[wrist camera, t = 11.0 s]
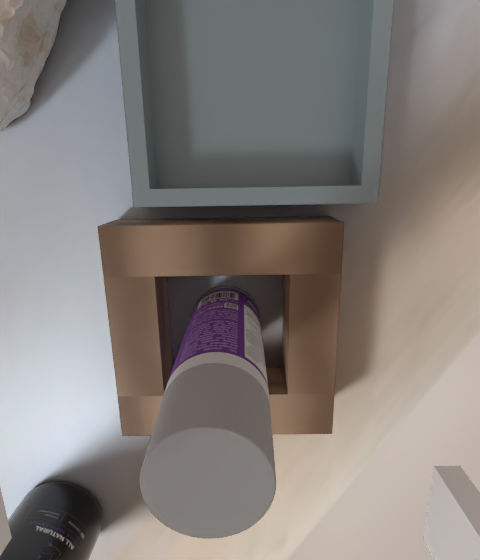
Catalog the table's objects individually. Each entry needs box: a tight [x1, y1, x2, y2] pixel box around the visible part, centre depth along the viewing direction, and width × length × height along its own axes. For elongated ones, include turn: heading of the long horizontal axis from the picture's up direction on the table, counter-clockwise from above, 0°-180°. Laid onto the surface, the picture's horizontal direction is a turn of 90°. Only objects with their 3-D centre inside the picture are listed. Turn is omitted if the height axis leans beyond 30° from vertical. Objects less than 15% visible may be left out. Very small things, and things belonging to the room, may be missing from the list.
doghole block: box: [98, 216, 344, 436], centre depth 25 cm, size 14×14×4 cm
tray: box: [115, 0, 394, 207], centre depth 21 cm, size 14×14×3 cm
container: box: [139, 286, 276, 538], centre depth 19 cm, size 5×5×15 cm
